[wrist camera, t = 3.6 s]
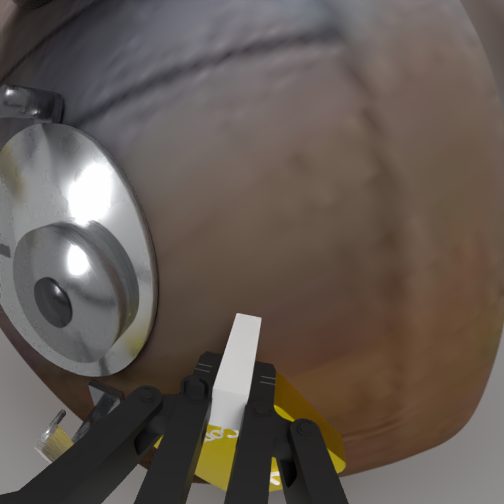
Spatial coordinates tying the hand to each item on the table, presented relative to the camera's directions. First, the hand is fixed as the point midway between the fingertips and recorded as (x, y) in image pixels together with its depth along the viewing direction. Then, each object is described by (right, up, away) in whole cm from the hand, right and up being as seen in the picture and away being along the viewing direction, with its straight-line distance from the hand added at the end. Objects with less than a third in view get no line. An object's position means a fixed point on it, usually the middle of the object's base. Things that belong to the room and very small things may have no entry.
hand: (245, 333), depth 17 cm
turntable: (-18, +6, +3) cm, 19 cm away
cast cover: (-12, +3, +2) cm, 13 cm away
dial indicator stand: (-15, -11, +8) cm, 21 cm away
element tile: (0, -13, +8) cm, 16 cm away
